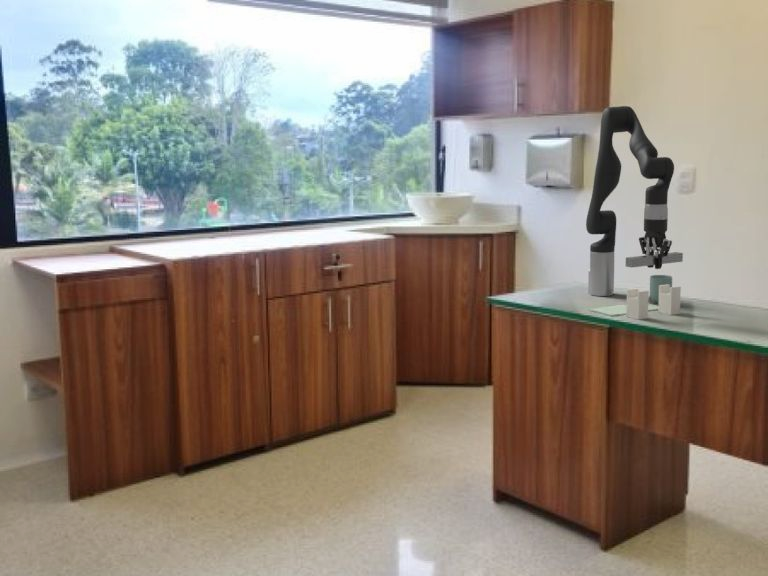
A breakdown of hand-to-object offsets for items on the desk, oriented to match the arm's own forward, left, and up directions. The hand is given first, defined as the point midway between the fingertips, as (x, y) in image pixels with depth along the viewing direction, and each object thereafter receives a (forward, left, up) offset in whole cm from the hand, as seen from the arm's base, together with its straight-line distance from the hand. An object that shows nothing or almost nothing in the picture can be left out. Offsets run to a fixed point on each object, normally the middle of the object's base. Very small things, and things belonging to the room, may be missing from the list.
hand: (654, 267), depth 262 cm
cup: (-15, +17, -17) cm, 28 cm away
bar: (0, 0, +1) cm, 1 cm away
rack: (0, 0, -16) cm, 16 cm away
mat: (-12, -1, -16) cm, 20 cm away
